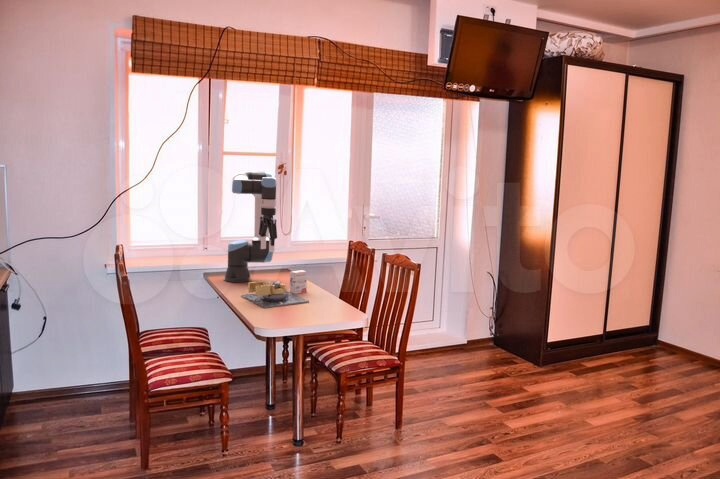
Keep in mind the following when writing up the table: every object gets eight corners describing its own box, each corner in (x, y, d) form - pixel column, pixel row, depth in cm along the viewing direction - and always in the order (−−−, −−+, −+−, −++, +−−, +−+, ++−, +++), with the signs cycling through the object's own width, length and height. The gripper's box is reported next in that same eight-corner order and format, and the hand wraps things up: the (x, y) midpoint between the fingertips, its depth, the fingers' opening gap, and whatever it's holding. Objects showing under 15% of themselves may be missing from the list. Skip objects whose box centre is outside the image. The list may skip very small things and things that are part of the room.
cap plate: (241, 296, 309) (241, 279, 308) (284, 291, 325) (285, 275, 323) (263, 308, 289) (264, 290, 287) (309, 302, 304) (309, 285, 303)
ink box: (301, 290, 330) (301, 269, 328) (306, 292, 326) (307, 271, 325) (288, 292, 324) (289, 271, 322) (294, 294, 320) (295, 272, 319)
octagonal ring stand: (279, 288, 314) (279, 279, 313) (289, 292, 305) (289, 283, 304) (247, 291, 303) (247, 282, 302) (257, 296, 294) (257, 286, 293)
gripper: (252, 205, 310) (251, 247, 313) (271, 209, 293) (270, 254, 296) (265, 205, 314) (264, 246, 317) (284, 209, 297) (283, 253, 300)
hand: (267, 250), depth 307 cm, fingers open, 9 cm apart
